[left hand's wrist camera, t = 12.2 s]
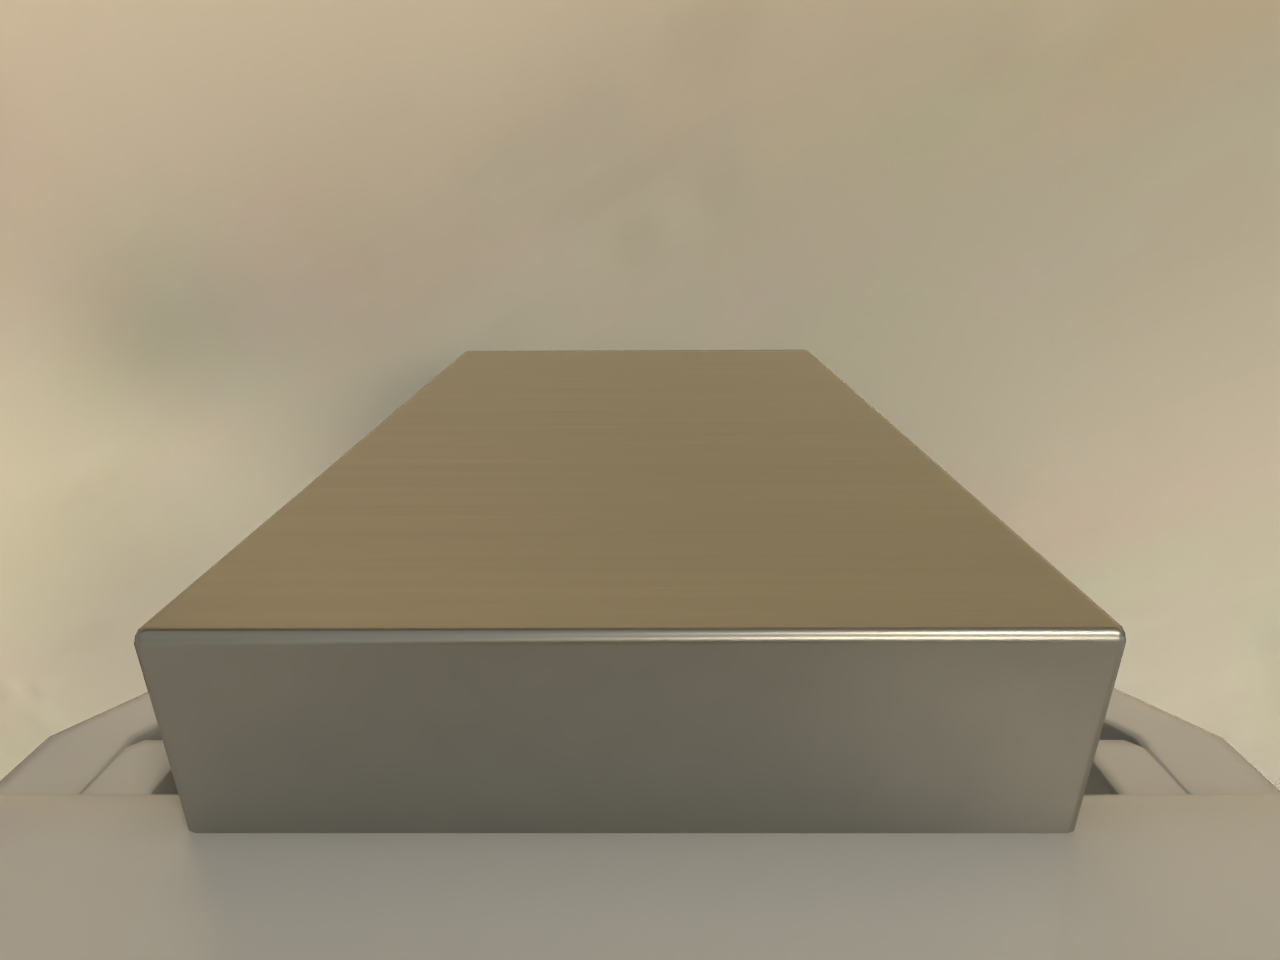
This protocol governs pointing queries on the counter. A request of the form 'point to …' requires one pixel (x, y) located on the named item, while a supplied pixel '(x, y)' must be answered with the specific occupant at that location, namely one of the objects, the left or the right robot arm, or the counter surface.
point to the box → (632, 622)
